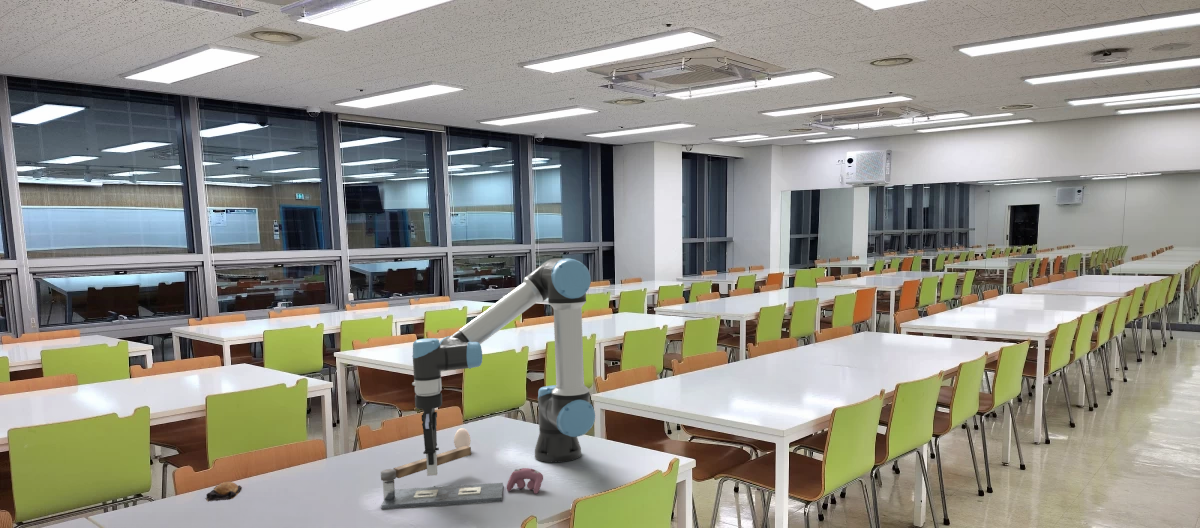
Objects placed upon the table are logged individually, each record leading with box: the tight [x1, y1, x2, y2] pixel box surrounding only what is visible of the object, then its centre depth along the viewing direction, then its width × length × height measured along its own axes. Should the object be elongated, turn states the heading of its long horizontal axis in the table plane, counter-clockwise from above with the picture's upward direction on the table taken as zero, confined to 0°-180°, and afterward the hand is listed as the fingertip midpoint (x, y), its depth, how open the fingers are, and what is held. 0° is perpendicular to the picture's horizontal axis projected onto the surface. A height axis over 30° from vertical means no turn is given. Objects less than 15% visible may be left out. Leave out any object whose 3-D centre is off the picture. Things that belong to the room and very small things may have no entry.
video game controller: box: [506, 467, 544, 495], centre depth 207 cm, size 10×5×7 cm, turn 71°
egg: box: [453, 427, 471, 449], centre depth 246 cm, size 6×6×8 cm
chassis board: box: [380, 479, 504, 510], centre depth 202 cm, size 32×12×6 cm, turn 96°
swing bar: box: [380, 446, 472, 482], centre depth 211 cm, size 30×4×2 cm, turn 141°
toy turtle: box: [205, 481, 243, 502], centre depth 210 cm, size 11×8×4 cm
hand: (432, 474), depth 209 cm, fingers closed
